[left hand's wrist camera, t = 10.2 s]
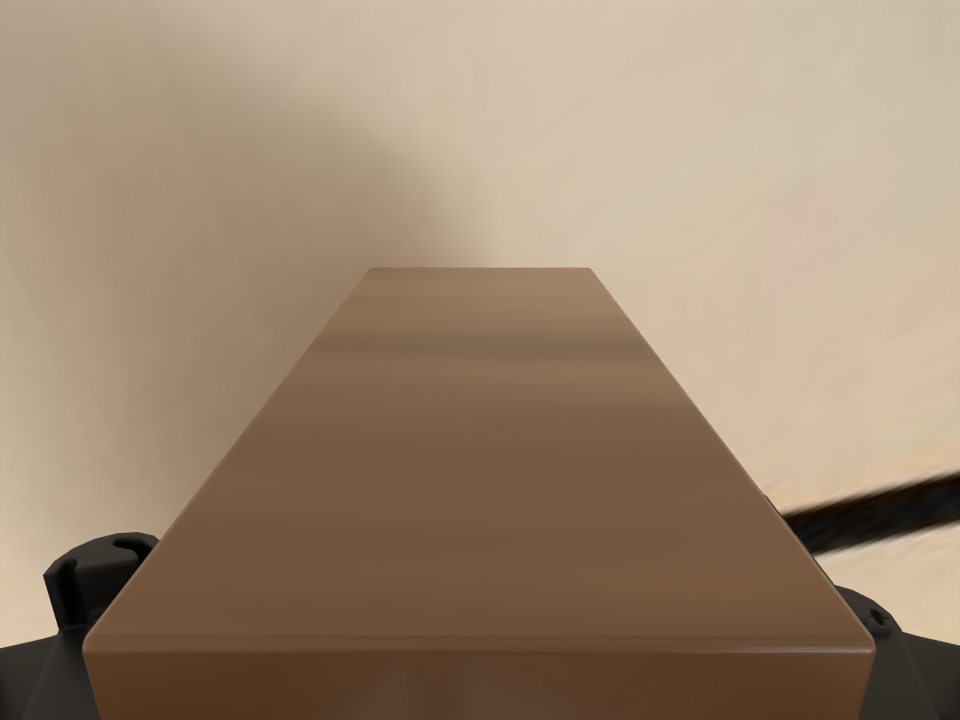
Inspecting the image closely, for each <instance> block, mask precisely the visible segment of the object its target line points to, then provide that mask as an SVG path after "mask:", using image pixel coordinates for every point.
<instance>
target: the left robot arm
mask: <svg viewBox="0 0 960 720" xmlns="http://www.w3.org/2000/svg"><path fill="white" fill-rule="evenodd" d="M764 496H765V497H766V498H767V500H768V501H769V502H770V504H771V505H772V506H773V507H774V505H773V504H772V503H771V501H770V500H769V499H768V497H767V496H766V495H764ZM774 509H775V510H776V511H777V509H776V508H775V507H774ZM777 513H778V514H779V515H780V517H781V514H780V513H779V512H778V511H777ZM782 519H783V521H784V522H785V523H786V524H787V522H786V521H785V520H784V518H782ZM787 526H788V527H789V528H790V530H791V531H792V529H791V527H790V526H789V525H788V524H787ZM794 535H795V536H796V537H797V535H796V534H794ZM797 539H798V540H799V541H800V543H801V544H802V545H803V547H804V548H805V549H806V551H807V552H808V553H809V554H810V552H809V551H808V550H807V548H806V547H805V546H804V544H803V543H802V542H801V540H800V539H799V538H798V537H797ZM158 542H159V540H158V539H157V538H156V537H155V536H153V535H148V534H144V533H139V532H132V533H117V534H113V535H109V536H105V537H101V538H97V539H93V540H91V541H89V542H87V543H84V544H82V545H80V546H78V547H75V548H73V549H71V550H70V551H69V552H67V553H66V554H64V555H63V556H61V557H60V558H58V559H57V560H56V561H54V562H53V564H52V565H51V566H50V567H49V568H48V570H47V571H46V572H45V573H44V575H43V577H44V580H45V584H46V587H47V591H48V594H49V597H50V601H51V604H52V608H53V611H54V614H55V618H56V621H57V625H58V628H59V631H58V633H57V635H55V636H51V637H48V638H44V639H40V640H36V641H31V642H27V643H22V644H18V645H13V646H9V647H4V648H0V720H101V719H100V715H99V712H98V708H97V705H96V701H95V698H94V694H93V691H92V687H91V683H90V680H89V676H88V673H87V669H86V666H85V662H84V658H83V655H82V646H83V642H84V639H85V637H86V635H87V634H88V633H89V631H90V630H91V629H92V627H93V626H94V625H95V624H96V622H97V621H98V620H99V618H100V617H101V616H102V615H103V613H104V612H105V611H106V609H107V608H108V607H109V606H110V604H111V603H112V602H113V600H114V599H115V598H116V596H117V595H118V594H119V593H120V591H121V590H122V589H123V587H124V586H125V585H126V584H127V582H128V581H129V580H130V578H131V577H132V576H133V575H134V573H135V572H136V571H137V569H138V568H139V567H140V565H141V564H142V563H143V562H144V560H145V559H146V558H147V556H148V555H149V554H150V553H151V551H152V550H153V549H154V547H155V546H156V545H157V544H158ZM810 556H811V557H812V558H813V560H814V561H815V562H816V564H817V565H818V566H819V568H820V569H821V570H822V571H823V573H824V574H825V575H826V577H827V578H828V579H829V581H830V582H831V583H832V585H833V586H834V587H835V588H836V590H837V591H838V592H839V594H840V595H841V596H842V598H843V599H844V600H845V602H846V603H847V604H848V605H849V607H850V608H851V609H852V611H853V612H854V613H855V615H856V616H857V617H858V618H859V620H860V621H861V622H862V624H863V625H864V626H865V628H866V629H867V630H868V632H869V633H870V634H871V635H872V637H873V639H874V642H875V646H876V656H875V659H874V663H873V666H872V670H871V674H870V677H869V681H868V684H867V688H866V692H865V695H864V699H863V703H862V706H861V710H860V713H859V717H858V720H960V645H955V644H951V643H946V642H942V641H937V640H933V639H928V638H924V637H919V636H915V635H912V634H909V633H905V632H902V630H901V628H900V627H899V625H898V624H897V623H896V621H895V620H894V618H893V617H892V615H891V614H890V613H889V612H887V611H886V610H885V609H883V608H882V607H881V606H880V605H878V604H877V603H876V602H875V601H873V600H871V599H869V598H867V597H865V596H863V595H861V594H859V593H857V592H855V591H853V590H851V589H847V588H844V587H840V586H837V585H834V583H833V582H832V581H831V580H830V578H829V577H828V576H827V574H826V573H825V572H824V570H823V569H822V568H821V567H820V565H819V564H818V563H817V561H816V560H815V559H814V557H813V556H812V555H811V554H810Z"/></svg>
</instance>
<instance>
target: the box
mask: <svg viewBox="0 0 960 720" xmlns="http://www.w3.org/2000/svg"><path fill="white" fill-rule="evenodd" d="M82 655H83V658H84V662H85V666H86V669H87V673H88V676H89V680H90V683H91V687H92V691H93V694H94V698H95V701H96V705H97V708H98V712H99V715H100V719H101V720H858V717H859V713H860V710H861V706H862V703H863V699H864V695H865V692H866V688H867V684H868V681H869V677H870V674H871V670H872V666H873V663H874V659H875V656H876V646H875V642H874V639H873V637H872V635H871V634H870V633H869V632H868V630H867V629H866V628H865V626H864V625H863V624H862V622H861V621H860V620H859V618H858V617H857V616H856V615H855V613H854V612H853V611H852V609H851V608H850V607H849V605H848V604H847V603H846V602H845V600H844V599H843V598H842V596H841V595H840V594H839V592H838V591H837V590H836V588H835V587H834V586H833V585H832V583H831V582H830V581H829V579H828V578H827V577H826V575H825V574H824V573H823V571H822V570H821V569H820V568H819V566H818V565H817V564H816V562H815V561H814V560H813V558H812V557H811V556H810V554H809V553H808V552H807V551H806V549H805V548H804V547H803V545H802V544H801V543H800V541H799V540H798V539H797V537H796V536H795V535H794V534H793V532H792V531H791V530H790V528H789V527H788V526H787V524H786V523H785V522H784V521H783V519H782V518H781V517H780V515H779V514H778V513H777V511H776V510H775V509H774V507H773V506H772V505H771V504H770V502H769V501H768V500H767V498H766V497H765V496H764V494H763V493H762V492H761V490H760V489H759V488H758V487H757V485H756V484H755V483H754V481H753V480H752V479H751V477H750V476H749V475H748V473H747V472H746V471H745V470H744V468H743V467H742V466H741V464H740V463H739V462H738V460H737V459H736V458H735V456H734V455H733V454H732V453H731V451H730V450H729V449H728V447H727V446H726V445H725V443H724V442H723V441H722V440H721V438H720V437H719V436H718V434H717V433H716V432H715V430H714V429H713V428H712V426H711V425H710V424H709V423H708V421H707V420H706V419H705V417H704V416H703V415H702V413H701V412H700V411H699V409H698V408H697V407H696V406H695V404H694V403H693V402H692V400H691V399H690V398H689V396H688V395H687V394H686V392H685V391H684V390H683V389H682V387H681V386H680V385H679V383H678V382H677V381H676V379H675V378H674V377H673V375H672V374H671V373H670V372H669V370H668V369H667V368H666V366H665V365H664V364H663V362H662V361H661V360H660V359H659V357H658V356H657V355H656V353H655V352H654V351H653V349H652V348H651V347H650V345H649V344H648V343H647V342H646V340H645V339H644V338H643V336H642V335H641V334H640V332H639V331H638V330H637V328H636V327H635V326H634V325H633V323H632V322H631V321H630V319H629V318H628V317H627V315H626V314H625V313H624V311H623V310H622V309H621V308H620V306H619V305H618V304H617V302H616V301H615V300H614V298H613V297H612V296H611V294H610V293H609V292H608V291H607V289H606V288H605V287H604V285H603V284H602V283H601V281H600V280H599V279H598V278H597V276H596V275H595V274H594V272H593V271H592V270H591V269H590V268H371V269H370V270H369V271H368V272H367V274H366V275H365V276H364V277H363V279H362V280H361V281H360V283H359V284H358V285H357V286H356V288H355V289H354V290H353V292H352V293H351V294H350V295H349V297H348V298H347V299H346V301H345V302H344V303H343V305H342V306H341V307H340V308H339V310H338V311H337V312H336V314H335V315H334V316H333V317H332V319H331V320H330V321H329V323H328V324H327V325H326V326H325V328H324V329H323V330H322V332H321V333H320V334H319V336H318V337H317V338H316V339H315V341H314V342H313V343H312V345H311V346H310V347H309V348H308V350H307V351H306V352H305V354H304V355H303V356H302V357H301V359H300V360H299V361H298V363H297V364H296V365H295V367H294V368H293V369H292V370H291V372H290V373H289V374H288V376H287V377H286V378H285V379H284V381H283V382H282V383H281V385H280V386H279V387H278V388H277V390H276V391H275V392H274V394H273V395H272V396H271V398H270V399H269V400H268V401H267V403H266V404H265V405H264V407H263V408H262V409H261V410H260V412H259V413H258V414H257V416H256V417H255V418H254V420H253V421H252V422H251V423H250V425H249V426H248V427H247V429H246V430H245V431H244V432H243V434H242V435H241V436H240V438H239V439H238V440H237V441H236V443H235V444H234V445H233V447H232V448H231V449H230V451H229V452H228V453H227V454H226V456H225V457H224V458H223V460H222V461H221V462H220V463H219V465H218V466H217V467H216V469H215V470H214V471H213V472H212V474H211V475H210V476H209V478H208V479H207V480H206V482H205V483H204V484H203V485H202V487H201V488H200V489H199V491H198V492H197V493H196V494H195V496H194V497H193V498H192V500H191V501H190V502H189V503H188V505H187V506H186V507H185V509H184V510H183V511H182V513H181V514H180V515H179V516H178V518H177V519H176V520H175V522H174V523H173V524H172V525H171V527H170V528H169V529H168V531H167V532H166V533H165V534H164V536H163V537H162V538H161V540H160V541H159V542H158V544H157V545H156V546H155V547H154V549H153V550H152V551H151V553H150V554H149V555H148V556H147V558H146V559H145V560H144V562H143V563H142V564H141V565H140V567H139V568H138V569H137V571H136V572H135V573H134V575H133V576H132V577H131V578H130V580H129V581H128V582H127V584H126V585H125V586H124V587H123V589H122V590H121V591H120V593H119V594H118V595H117V596H116V598H115V599H114V600H113V602H112V603H111V604H110V606H109V607H108V608H107V609H106V611H105V612H104V613H103V615H102V616H101V617H100V618H99V620H98V621H97V622H96V624H95V625H94V626H93V627H92V629H91V630H90V631H89V633H88V634H87V635H86V637H85V639H84V642H83V646H82Z"/></svg>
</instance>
